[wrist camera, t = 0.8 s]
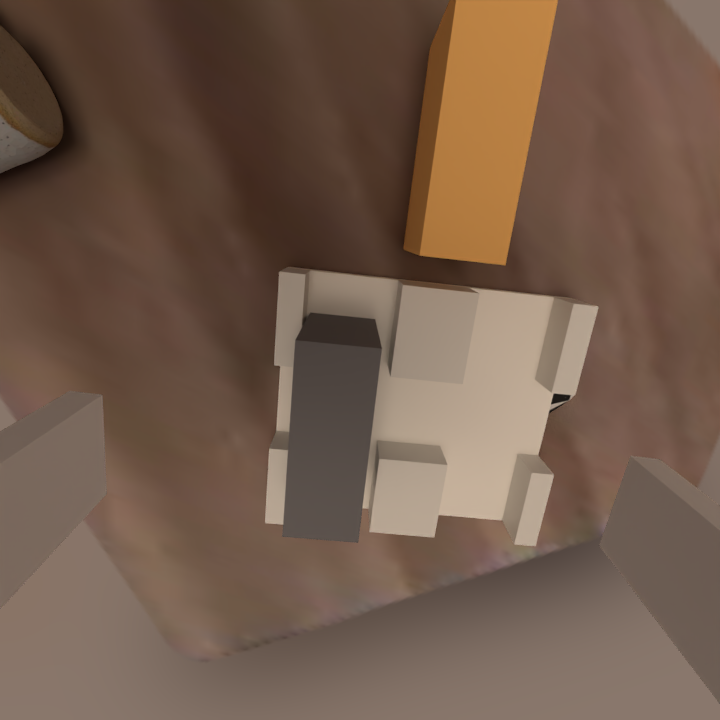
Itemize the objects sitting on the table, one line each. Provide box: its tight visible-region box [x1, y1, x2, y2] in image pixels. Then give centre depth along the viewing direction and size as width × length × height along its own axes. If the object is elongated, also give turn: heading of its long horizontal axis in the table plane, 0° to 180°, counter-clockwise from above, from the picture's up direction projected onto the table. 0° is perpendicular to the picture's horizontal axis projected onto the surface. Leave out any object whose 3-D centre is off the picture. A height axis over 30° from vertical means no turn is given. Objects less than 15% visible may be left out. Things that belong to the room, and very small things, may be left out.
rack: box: [265, 267, 599, 546], centre depth 31 cm, size 18×20×4 cm
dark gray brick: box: [282, 312, 382, 543], centre depth 28 cm, size 12×4×8 cm, turn 174°
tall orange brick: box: [403, 0, 558, 265], centre depth 25 cm, size 12×4×8 cm, turn 174°
